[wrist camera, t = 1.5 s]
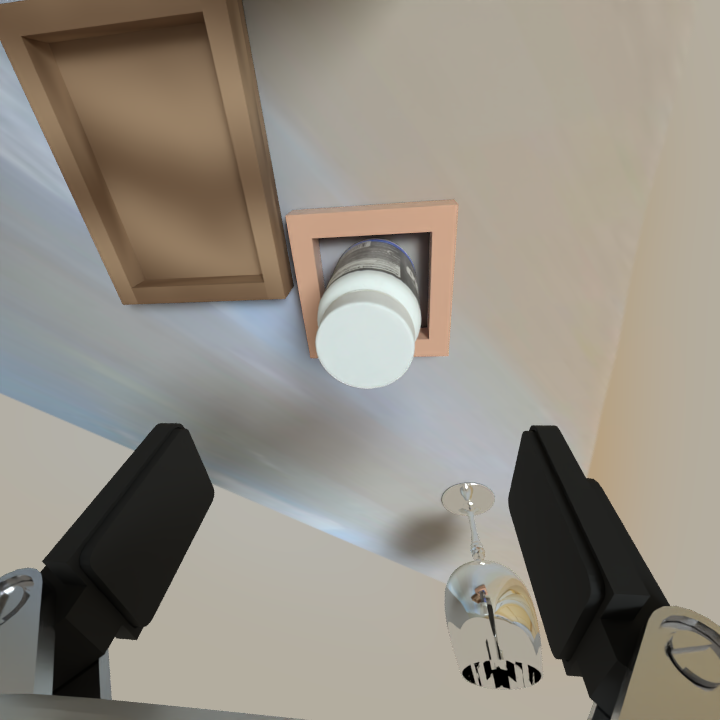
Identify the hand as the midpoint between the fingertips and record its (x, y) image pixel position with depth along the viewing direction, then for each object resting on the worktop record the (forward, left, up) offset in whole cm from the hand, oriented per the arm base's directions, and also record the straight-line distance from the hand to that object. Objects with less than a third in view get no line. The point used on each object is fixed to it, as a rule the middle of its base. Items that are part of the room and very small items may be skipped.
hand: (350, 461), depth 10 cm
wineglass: (+20, +7, -14) cm, 25 cm away
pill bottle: (-1, 0, -14) cm, 14 cm away
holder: (0, 0, -13) cm, 13 cm away
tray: (-7, -10, -13) cm, 18 cm away
